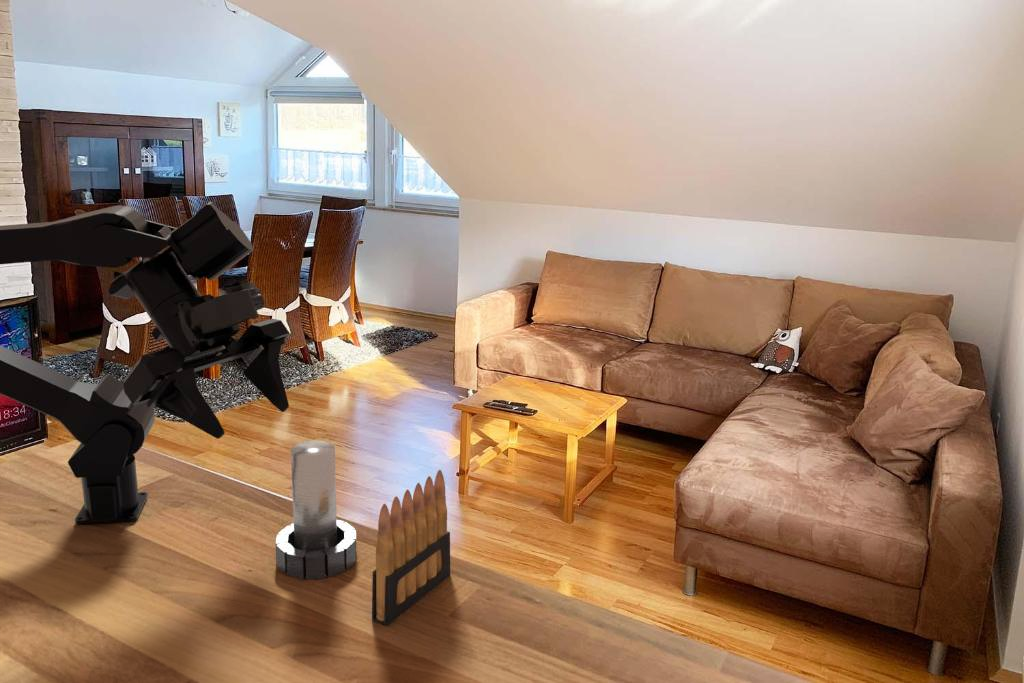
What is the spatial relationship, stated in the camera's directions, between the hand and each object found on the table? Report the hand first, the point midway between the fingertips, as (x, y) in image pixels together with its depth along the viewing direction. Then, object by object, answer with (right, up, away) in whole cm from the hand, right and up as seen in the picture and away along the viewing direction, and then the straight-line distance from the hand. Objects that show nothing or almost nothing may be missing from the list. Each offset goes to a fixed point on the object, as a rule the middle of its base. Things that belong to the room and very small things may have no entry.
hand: (255, 422), depth 91 cm
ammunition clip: (+17, -17, -6) cm, 25 cm away
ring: (+7, -14, 0) cm, 16 cm away
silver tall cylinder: (+7, -14, 0) cm, 16 cm away
